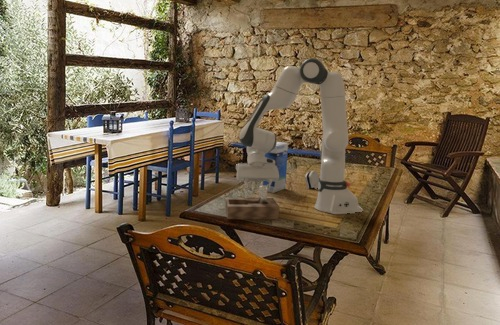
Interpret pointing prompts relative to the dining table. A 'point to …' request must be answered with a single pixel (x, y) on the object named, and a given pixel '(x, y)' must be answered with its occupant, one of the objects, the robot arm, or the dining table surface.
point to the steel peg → (262, 194)
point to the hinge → (312, 179)
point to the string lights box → (278, 166)
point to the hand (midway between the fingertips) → (258, 188)
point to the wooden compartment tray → (251, 208)
